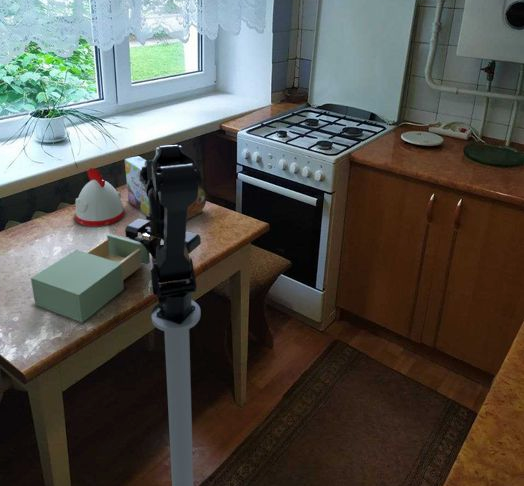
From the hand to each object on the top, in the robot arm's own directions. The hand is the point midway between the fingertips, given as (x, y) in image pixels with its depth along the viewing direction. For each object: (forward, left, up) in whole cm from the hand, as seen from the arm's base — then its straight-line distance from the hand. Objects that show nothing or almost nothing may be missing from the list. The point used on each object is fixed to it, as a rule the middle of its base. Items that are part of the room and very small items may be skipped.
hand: (164, 265), depth 124 cm
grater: (0, 0, -1) cm, 1 cm away
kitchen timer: (+35, -16, -2) cm, 38 cm away
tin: (+11, -28, -2) cm, 30 cm away
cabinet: (+10, +18, -1) cm, 21 cm away
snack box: (+23, -26, -2) cm, 34 cm away
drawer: (+10, +4, -1) cm, 11 cm away
